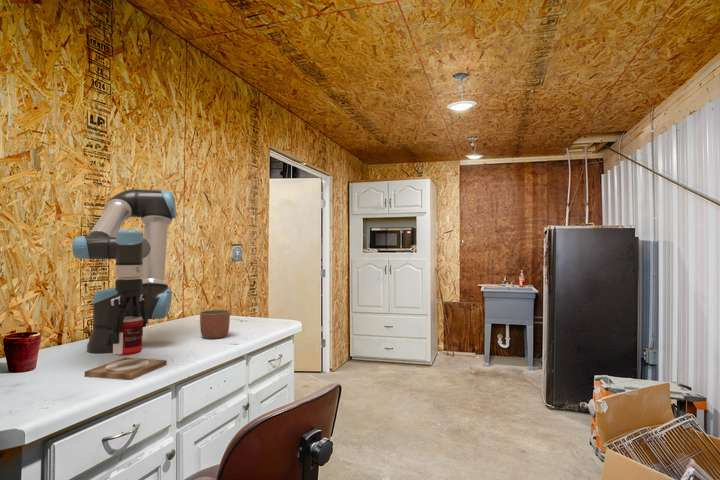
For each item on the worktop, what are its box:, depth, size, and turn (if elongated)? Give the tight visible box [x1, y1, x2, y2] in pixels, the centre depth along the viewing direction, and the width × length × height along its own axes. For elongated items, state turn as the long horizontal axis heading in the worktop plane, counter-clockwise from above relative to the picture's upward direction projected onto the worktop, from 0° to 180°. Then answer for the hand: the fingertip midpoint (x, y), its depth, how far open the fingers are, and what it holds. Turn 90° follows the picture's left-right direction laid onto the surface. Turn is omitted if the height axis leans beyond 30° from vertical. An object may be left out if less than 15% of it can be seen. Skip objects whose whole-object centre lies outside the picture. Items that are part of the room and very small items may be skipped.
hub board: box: [84, 357, 168, 381], centre depth 129 cm, size 16×16×2 cm
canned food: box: [114, 316, 143, 357], centre depth 129 cm, size 8×8×11 cm
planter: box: [199, 309, 231, 340], centre depth 178 cm, size 12×12×11 cm
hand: (127, 350), depth 129 cm, fingers closed on canned food, 8 cm apart
